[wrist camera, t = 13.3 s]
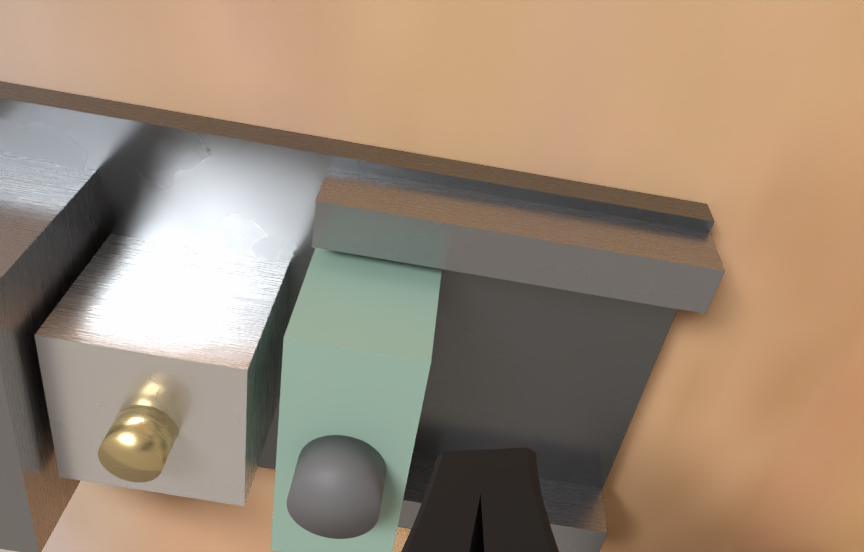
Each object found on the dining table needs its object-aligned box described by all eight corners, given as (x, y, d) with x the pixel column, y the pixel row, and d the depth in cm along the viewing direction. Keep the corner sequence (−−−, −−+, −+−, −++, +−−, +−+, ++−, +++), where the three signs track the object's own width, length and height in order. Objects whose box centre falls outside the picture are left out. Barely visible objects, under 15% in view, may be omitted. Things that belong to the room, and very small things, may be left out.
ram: (443, 253, 20) (426, 404, 15) (405, 450, 24) (382, 612, 19) (320, 232, 19) (269, 378, 15) (303, 433, 23) (258, 592, 19)
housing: (289, 263, 20) (234, 403, 16) (281, 392, 23) (233, 541, 19) (110, 234, 20) (9, 366, 16) (123, 367, 23) (39, 510, 19)
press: (707, 204, 19) (772, 363, 15) (586, 499, 26) (605, 678, 21) (-46, 73, 19) (-230, 195, 14) (21, 407, 25) (-91, 568, 20)
